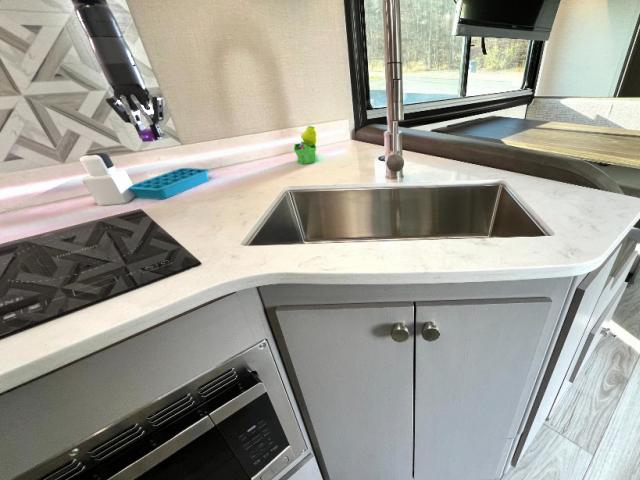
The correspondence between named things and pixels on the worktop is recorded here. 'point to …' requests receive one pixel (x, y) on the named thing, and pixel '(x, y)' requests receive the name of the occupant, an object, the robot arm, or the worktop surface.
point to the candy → (146, 135)
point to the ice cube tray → (170, 183)
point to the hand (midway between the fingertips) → (153, 139)
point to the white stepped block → (106, 180)
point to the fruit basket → (307, 146)
